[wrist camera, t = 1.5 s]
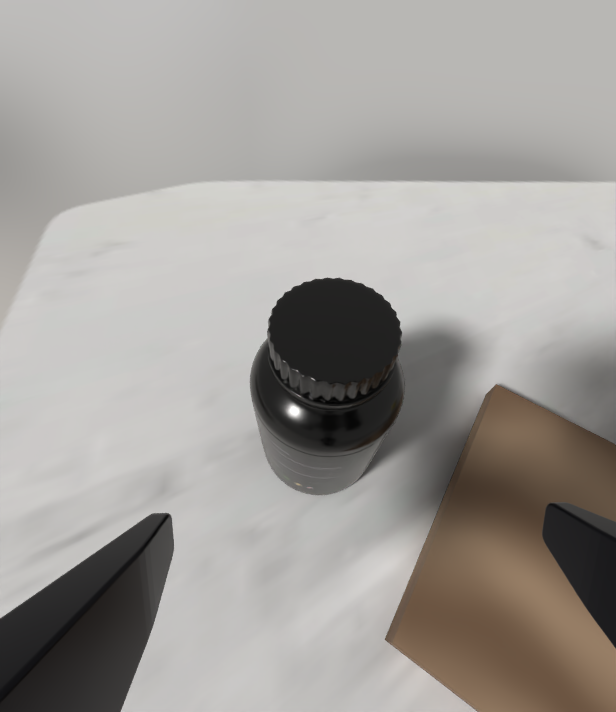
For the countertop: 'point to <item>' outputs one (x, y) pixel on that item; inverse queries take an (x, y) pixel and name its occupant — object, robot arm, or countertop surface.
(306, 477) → the supplement bottle
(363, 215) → the countertop surface
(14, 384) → the countertop surface
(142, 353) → the countertop surface
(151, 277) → the countertop surface
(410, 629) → the walnut board
